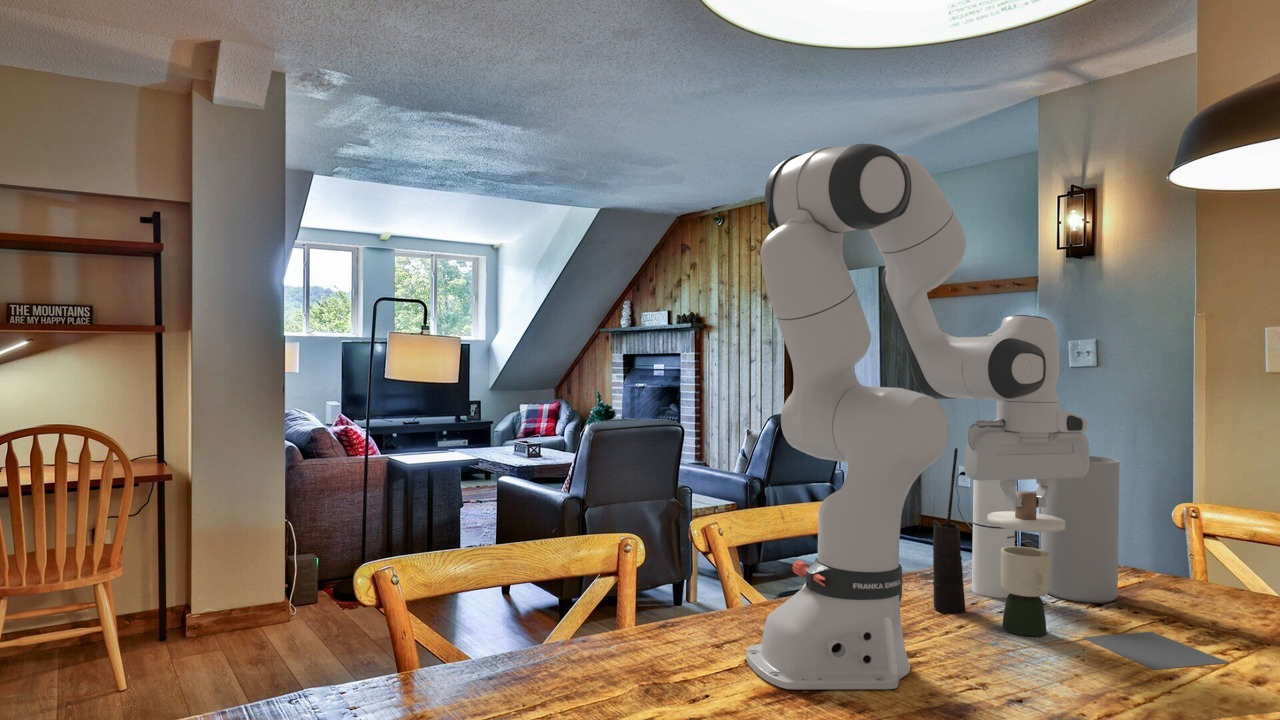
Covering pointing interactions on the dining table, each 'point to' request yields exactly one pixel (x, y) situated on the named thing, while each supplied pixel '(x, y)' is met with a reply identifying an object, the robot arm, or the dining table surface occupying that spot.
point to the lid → (1026, 517)
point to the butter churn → (948, 562)
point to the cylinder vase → (1085, 534)
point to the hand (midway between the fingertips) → (1026, 507)
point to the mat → (1154, 650)
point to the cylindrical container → (988, 539)
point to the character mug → (1025, 589)
